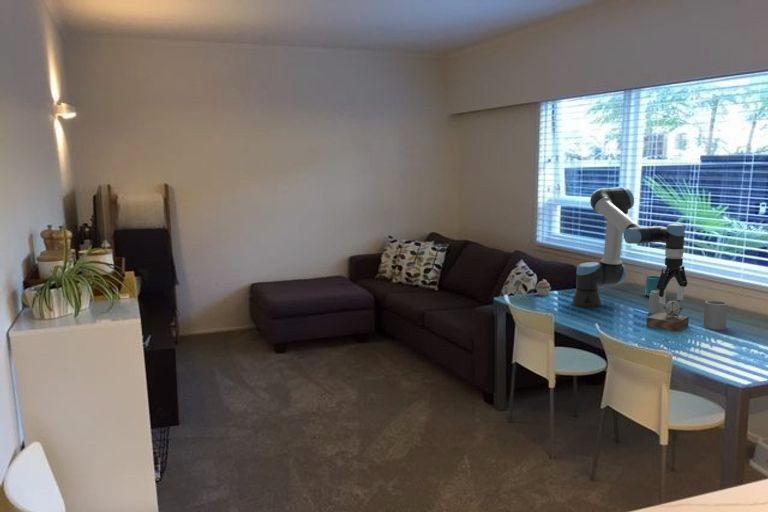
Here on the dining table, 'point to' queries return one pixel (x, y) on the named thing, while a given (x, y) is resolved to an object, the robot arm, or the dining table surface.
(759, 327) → the dining table surface
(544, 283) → the cupcake
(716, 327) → the cup
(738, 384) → the dining table surface
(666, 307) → the game die
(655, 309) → the can
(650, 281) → the cup
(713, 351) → the dining table surface
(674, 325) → the walnut block
